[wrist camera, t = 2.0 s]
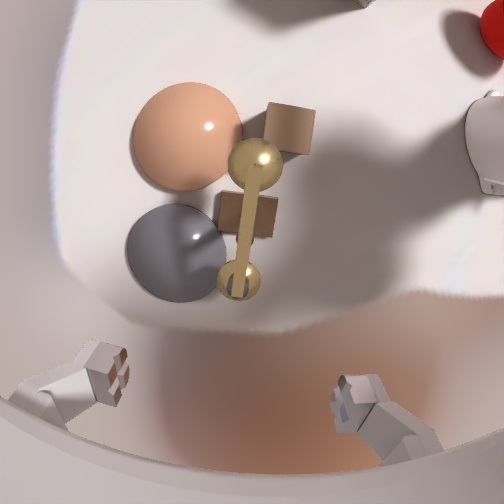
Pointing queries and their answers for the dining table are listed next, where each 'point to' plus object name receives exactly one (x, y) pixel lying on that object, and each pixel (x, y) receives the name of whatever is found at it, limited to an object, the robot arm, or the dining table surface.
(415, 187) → the dining table surface
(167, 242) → the charcoal dish
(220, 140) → the terracotta dish
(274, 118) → the walnut block
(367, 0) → the coffee box
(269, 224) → the balance
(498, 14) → the ceramic cup
